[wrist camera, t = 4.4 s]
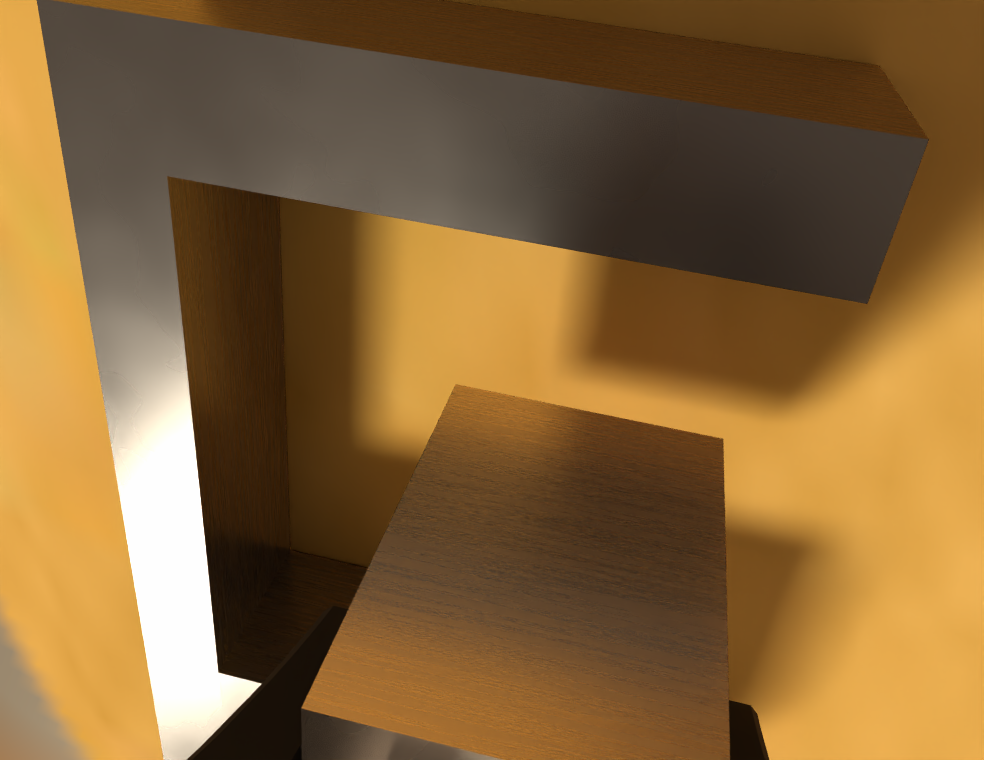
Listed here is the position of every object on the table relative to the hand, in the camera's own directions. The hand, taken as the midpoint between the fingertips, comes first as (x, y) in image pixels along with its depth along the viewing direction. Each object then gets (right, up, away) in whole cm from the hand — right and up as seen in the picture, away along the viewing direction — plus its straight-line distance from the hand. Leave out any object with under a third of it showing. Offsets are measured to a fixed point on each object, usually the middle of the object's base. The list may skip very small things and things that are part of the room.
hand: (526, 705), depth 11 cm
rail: (-2, +1, +8) cm, 8 cm away
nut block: (+1, +2, +3) cm, 4 cm away
